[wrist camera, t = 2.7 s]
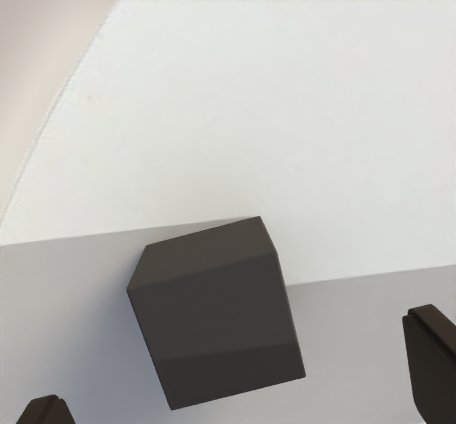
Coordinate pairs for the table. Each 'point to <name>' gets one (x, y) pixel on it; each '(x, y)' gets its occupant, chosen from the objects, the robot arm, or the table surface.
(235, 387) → the dark block
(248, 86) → the table surface
